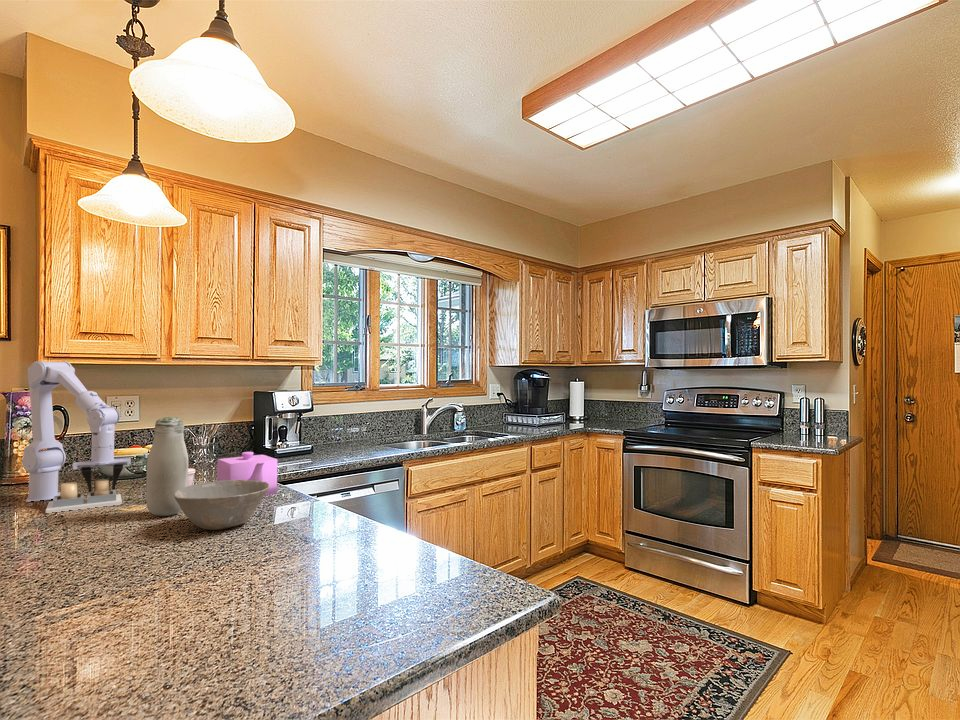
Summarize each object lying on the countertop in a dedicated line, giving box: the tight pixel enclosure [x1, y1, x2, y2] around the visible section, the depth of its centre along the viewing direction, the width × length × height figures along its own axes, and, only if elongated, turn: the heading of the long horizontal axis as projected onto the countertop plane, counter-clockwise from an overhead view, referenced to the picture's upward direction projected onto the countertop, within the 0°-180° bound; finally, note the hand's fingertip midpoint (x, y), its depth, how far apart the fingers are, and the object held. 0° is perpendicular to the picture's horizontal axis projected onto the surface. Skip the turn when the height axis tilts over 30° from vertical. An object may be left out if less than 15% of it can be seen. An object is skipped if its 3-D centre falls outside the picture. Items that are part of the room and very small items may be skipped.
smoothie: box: [187, 467, 196, 486], centre depth 165 cm, size 6×6×14 cm
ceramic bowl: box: [174, 480, 270, 531], centre depth 139 cm, size 22×23×10 cm
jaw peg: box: [93, 478, 111, 496], centre depth 162 cm, size 4×4×6 cm
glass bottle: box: [145, 416, 189, 517], centre depth 149 cm, size 10×10×28 cm
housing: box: [45, 481, 123, 514], centre depth 159 cm, size 12×18×7 cm, turn 126°
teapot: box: [216, 451, 278, 496], centre depth 175 cm, size 15×25×14 cm, turn 43°
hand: (101, 490), depth 162 cm, fingers open, 5 cm apart
